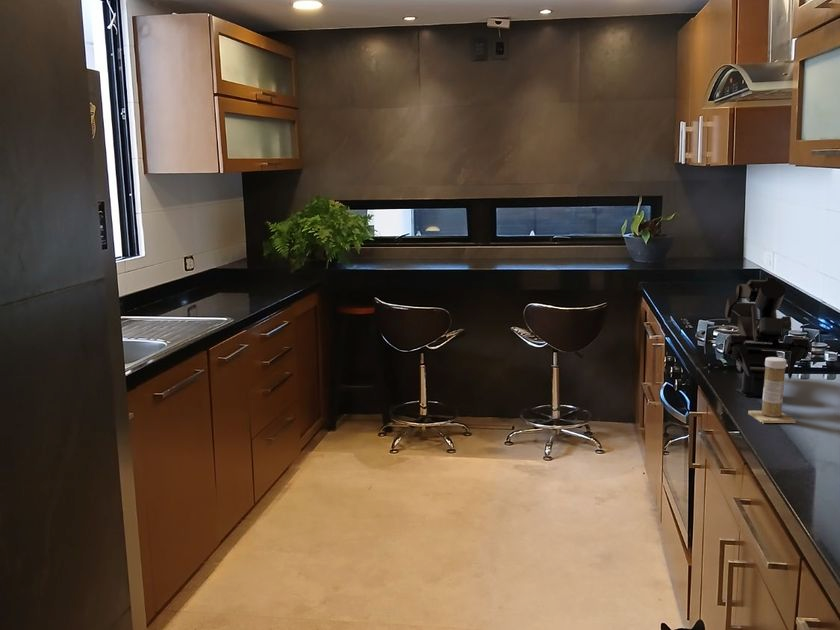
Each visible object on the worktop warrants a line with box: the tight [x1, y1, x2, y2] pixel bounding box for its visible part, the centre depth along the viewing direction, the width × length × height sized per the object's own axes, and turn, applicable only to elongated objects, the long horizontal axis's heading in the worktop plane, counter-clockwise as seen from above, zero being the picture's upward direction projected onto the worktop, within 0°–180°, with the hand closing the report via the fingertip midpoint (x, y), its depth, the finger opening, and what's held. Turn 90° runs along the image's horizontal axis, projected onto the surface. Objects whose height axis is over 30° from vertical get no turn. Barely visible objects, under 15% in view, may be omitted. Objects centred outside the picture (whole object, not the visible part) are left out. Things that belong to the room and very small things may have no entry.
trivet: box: [747, 410, 797, 425], centre depth 195 cm, size 8×8×1 cm
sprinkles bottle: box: [760, 356, 788, 417], centre depth 194 cm, size 5×5×14 cm
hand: (769, 376), depth 199 cm, fingers open, 9 cm apart
